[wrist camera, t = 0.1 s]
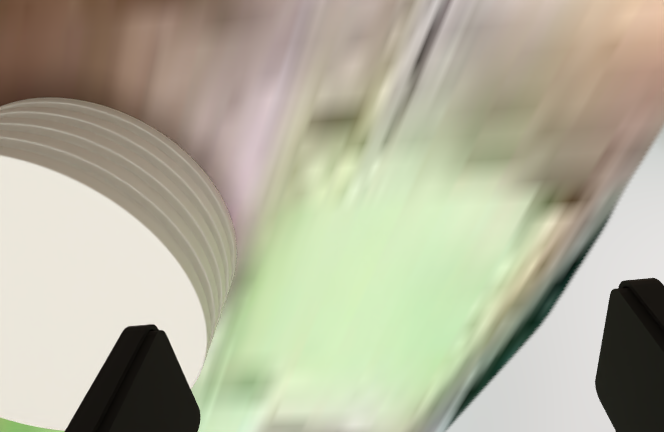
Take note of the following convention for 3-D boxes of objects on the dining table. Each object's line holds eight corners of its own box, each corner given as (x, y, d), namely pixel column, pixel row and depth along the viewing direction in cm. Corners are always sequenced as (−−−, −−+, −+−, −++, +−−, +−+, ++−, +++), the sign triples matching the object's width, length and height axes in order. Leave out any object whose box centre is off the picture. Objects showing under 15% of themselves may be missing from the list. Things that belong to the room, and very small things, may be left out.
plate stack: (56, 24, 37) (-50, 57, 27) (295, 258, 48) (280, 343, 38) (-109, 216, 47) (-231, 291, 37) (120, 375, 58) (72, 467, 48)
